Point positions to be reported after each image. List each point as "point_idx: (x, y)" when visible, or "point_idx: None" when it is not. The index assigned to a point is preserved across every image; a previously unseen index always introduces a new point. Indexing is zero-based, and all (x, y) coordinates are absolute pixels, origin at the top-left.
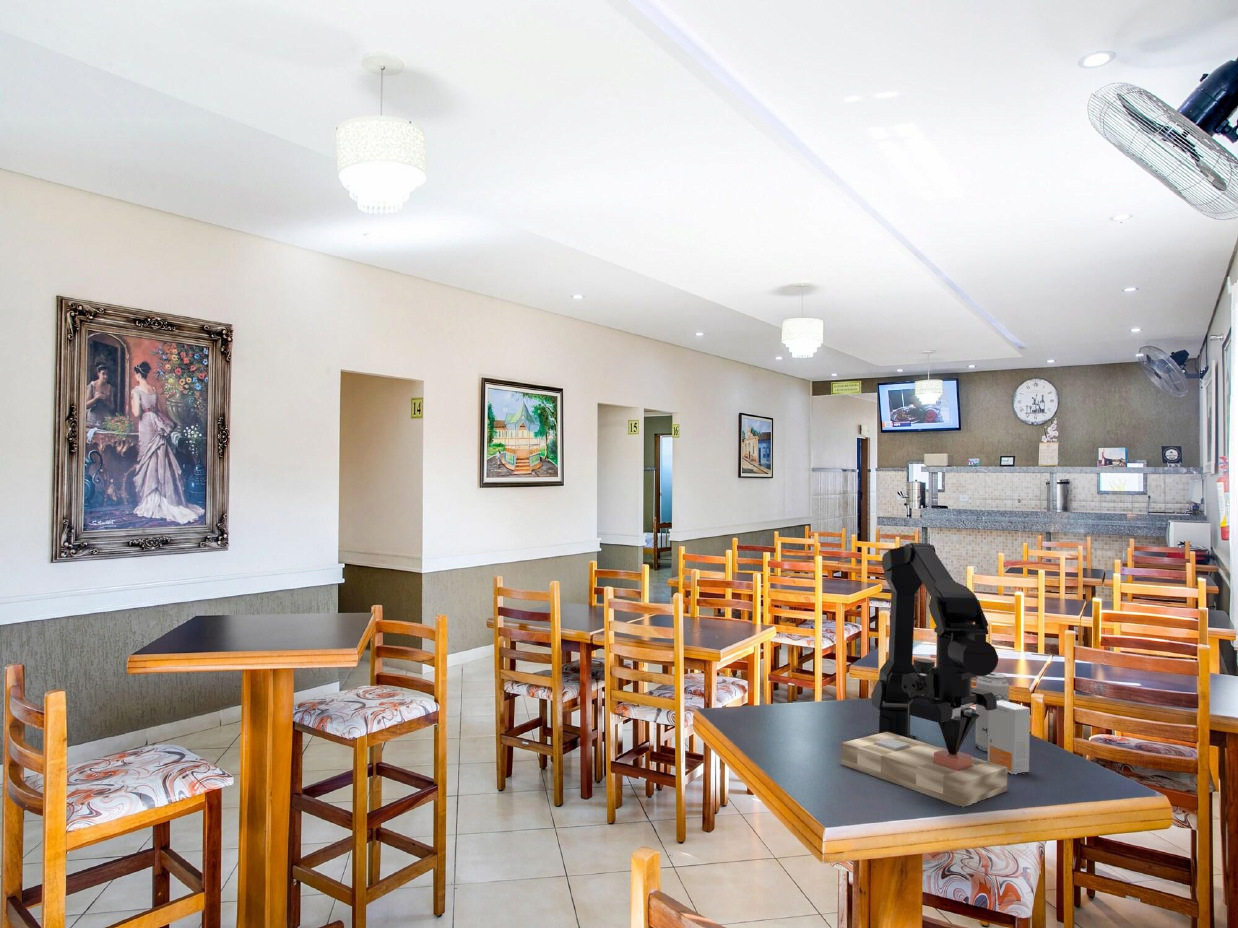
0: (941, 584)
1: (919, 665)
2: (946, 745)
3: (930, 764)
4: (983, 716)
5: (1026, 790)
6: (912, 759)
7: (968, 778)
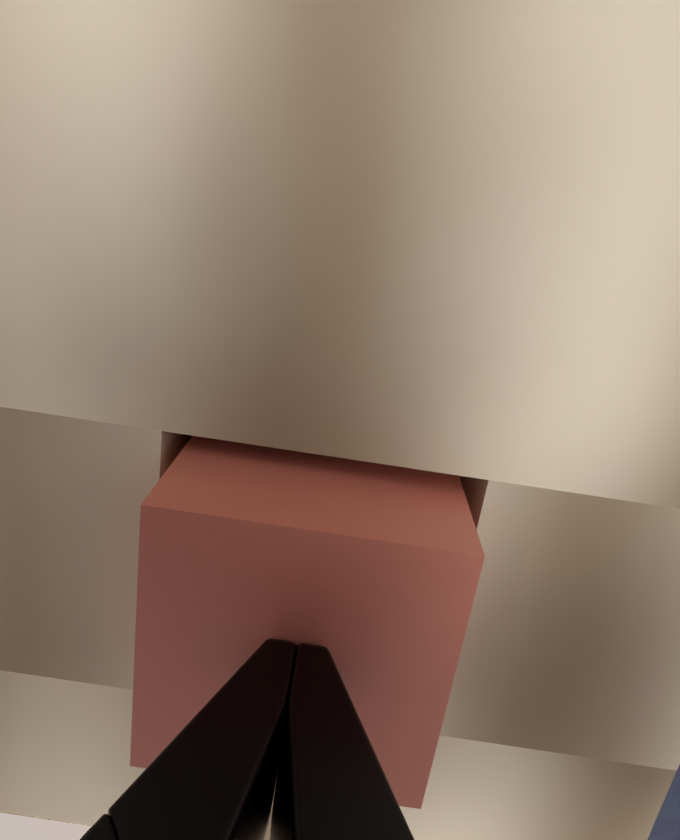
0: None
1: None
2: (216, 695)
3: (89, 453)
4: None
5: (672, 803)
6: (65, 231)
7: (39, 798)
